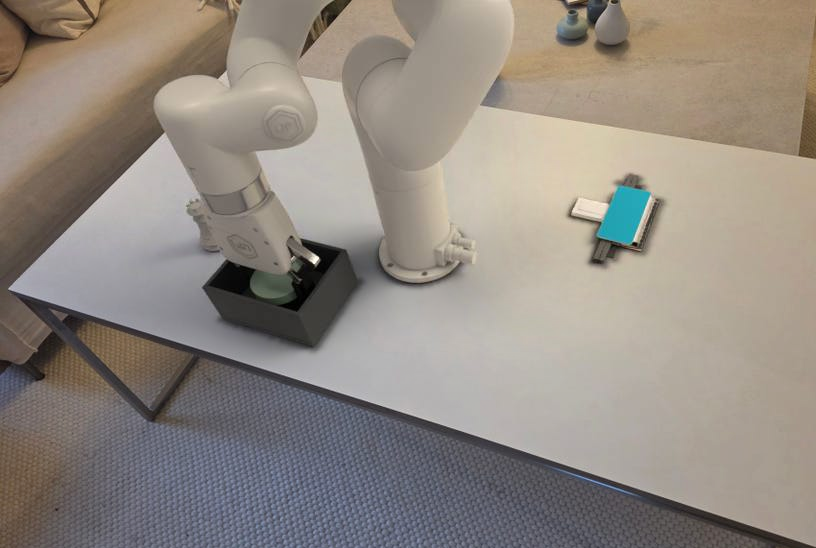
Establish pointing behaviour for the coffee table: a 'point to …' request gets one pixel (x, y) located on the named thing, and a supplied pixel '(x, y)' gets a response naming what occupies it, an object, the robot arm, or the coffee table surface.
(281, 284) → the green round disc
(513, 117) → the coffee table surface
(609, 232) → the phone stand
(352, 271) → the tub
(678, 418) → the coffee table surface
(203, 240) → the rook chess piece
